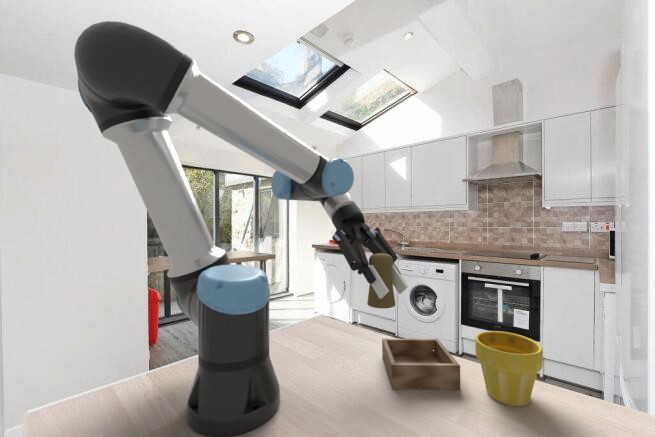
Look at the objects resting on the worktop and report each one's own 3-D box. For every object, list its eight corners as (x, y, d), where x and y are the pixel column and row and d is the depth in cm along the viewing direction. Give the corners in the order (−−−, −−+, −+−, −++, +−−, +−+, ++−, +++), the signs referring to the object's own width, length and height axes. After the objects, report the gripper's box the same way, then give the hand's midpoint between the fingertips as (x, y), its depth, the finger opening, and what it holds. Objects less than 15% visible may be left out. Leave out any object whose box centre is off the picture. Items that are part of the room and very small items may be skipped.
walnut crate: (392, 389, 56) (391, 364, 56) (382, 358, 69) (382, 338, 69) (460, 389, 56) (460, 365, 56) (438, 358, 68) (437, 338, 69)
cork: (371, 298, 70) (371, 251, 69) (397, 301, 67) (397, 252, 67) (363, 306, 64) (363, 254, 64) (392, 309, 62) (391, 256, 61)
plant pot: (542, 423, 47) (541, 359, 47) (470, 399, 53) (469, 343, 53) (544, 392, 55) (543, 338, 55) (481, 375, 61) (481, 326, 61)
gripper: (364, 222, 83) (413, 295, 70) (307, 225, 73) (352, 310, 59) (377, 202, 78) (432, 276, 65) (319, 202, 68) (370, 289, 55)
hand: (394, 292), depth 62 cm, fingers closed on cork, 5 cm apart
